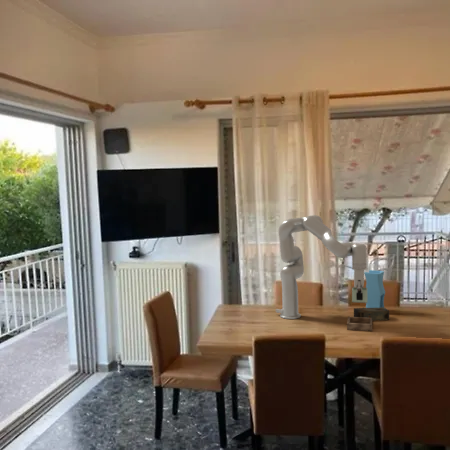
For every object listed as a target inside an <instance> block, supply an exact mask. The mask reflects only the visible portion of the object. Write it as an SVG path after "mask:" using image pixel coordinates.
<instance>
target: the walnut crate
mask: <svg viewBox="0 0 450 450" xmlns="http://www.w3.org/2000/svg"><path fill="white" fill-rule="evenodd" d="M346 331H359V332H360V331H362V332H373V321H372V318H363V317H354V316H348V317H347V321H346Z"/></svg>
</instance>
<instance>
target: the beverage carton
mask: <svg viewBox="0 0 450 450" xmlns="http://www.w3.org/2000/svg"><path fill="white" fill-rule="evenodd" d="M353 317H363V318H372V322H375V321H376V320H379V321H390V310H389V309H387V308H386V307H385V306H384V307H381V308H366V307H356V308H353Z"/></svg>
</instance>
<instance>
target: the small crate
mask: <svg viewBox="0 0 450 450" xmlns="http://www.w3.org/2000/svg"><path fill="white" fill-rule="evenodd" d="M356 293H357V287H354V286H353V287H352V289H351V303H362V304H366V303H367V301H368V297H367V288H366V287H363V288H362V293H363V300H357V296H356Z"/></svg>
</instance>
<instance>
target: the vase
mask: <svg viewBox="0 0 450 450" xmlns="http://www.w3.org/2000/svg"><path fill="white" fill-rule="evenodd" d="M384 275H385V271H384V270H375V269H374V270H373V269H369V270H368V271H367V272H366V271H364V278H365V280H366V281H365V282H366V284H365V288H367V297H368V301H367V303H365V304H366V305H365V308H381V307H385V295H386V290H385V286H384V283H383V280H384Z"/></svg>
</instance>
